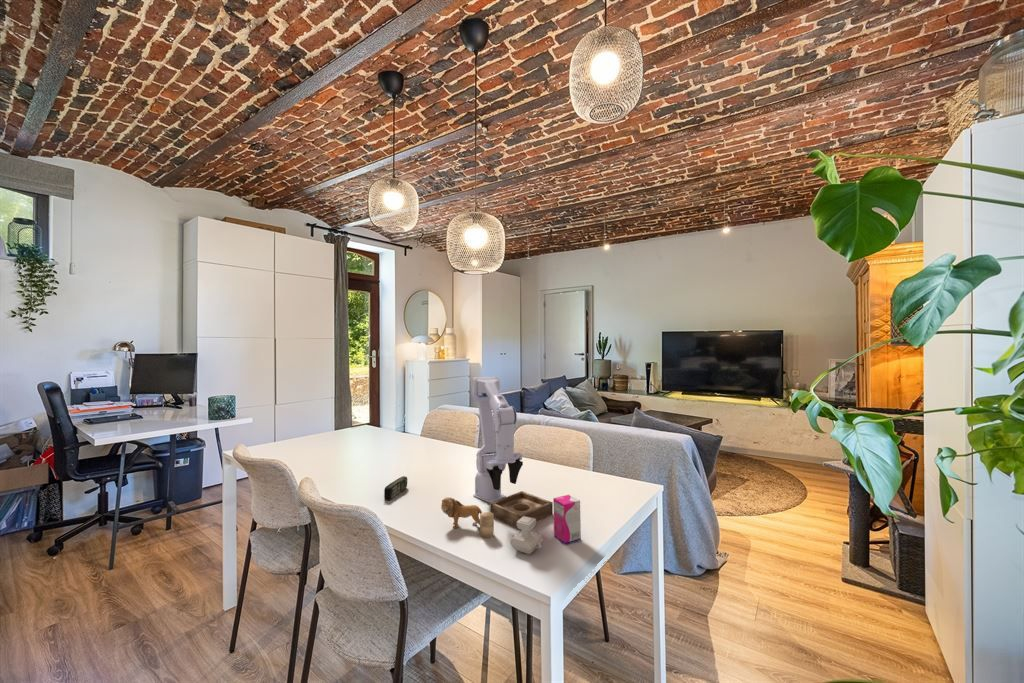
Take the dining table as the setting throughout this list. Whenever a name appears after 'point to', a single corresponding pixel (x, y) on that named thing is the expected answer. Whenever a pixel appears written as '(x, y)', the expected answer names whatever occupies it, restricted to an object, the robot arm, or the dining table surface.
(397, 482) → the mobile phone
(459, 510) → the tan animal figurine
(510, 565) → the dining table surface
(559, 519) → the supplement box
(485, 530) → the oak dowel
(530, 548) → the stamp
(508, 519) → the walnut box
